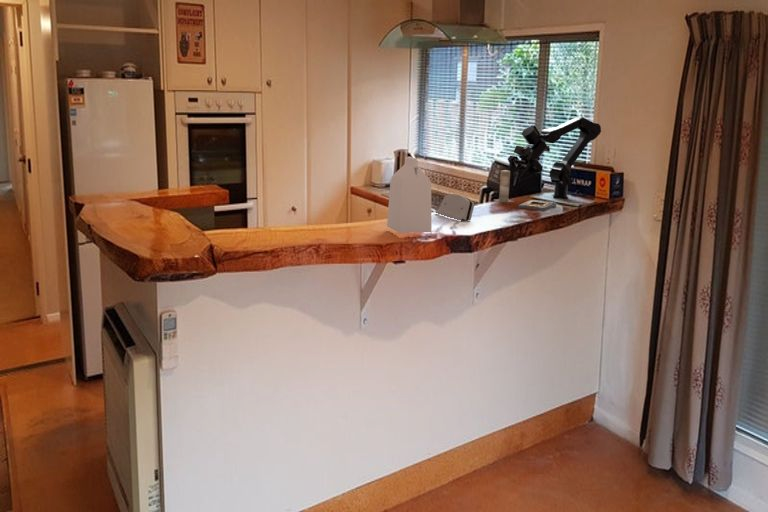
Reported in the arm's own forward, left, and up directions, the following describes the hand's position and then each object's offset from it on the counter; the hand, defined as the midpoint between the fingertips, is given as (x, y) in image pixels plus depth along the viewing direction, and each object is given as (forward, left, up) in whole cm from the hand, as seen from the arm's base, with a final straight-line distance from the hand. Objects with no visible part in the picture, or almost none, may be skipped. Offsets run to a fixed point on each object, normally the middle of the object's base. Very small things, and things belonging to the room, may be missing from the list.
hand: (512, 177), depth 300 cm
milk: (+76, -36, -10) cm, 85 cm away
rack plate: (+12, +11, -10) cm, 19 cm away
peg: (+2, -3, -10) cm, 11 cm away
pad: (+2, -3, -10) cm, 11 cm away
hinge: (+44, -22, -11) cm, 50 cm away
